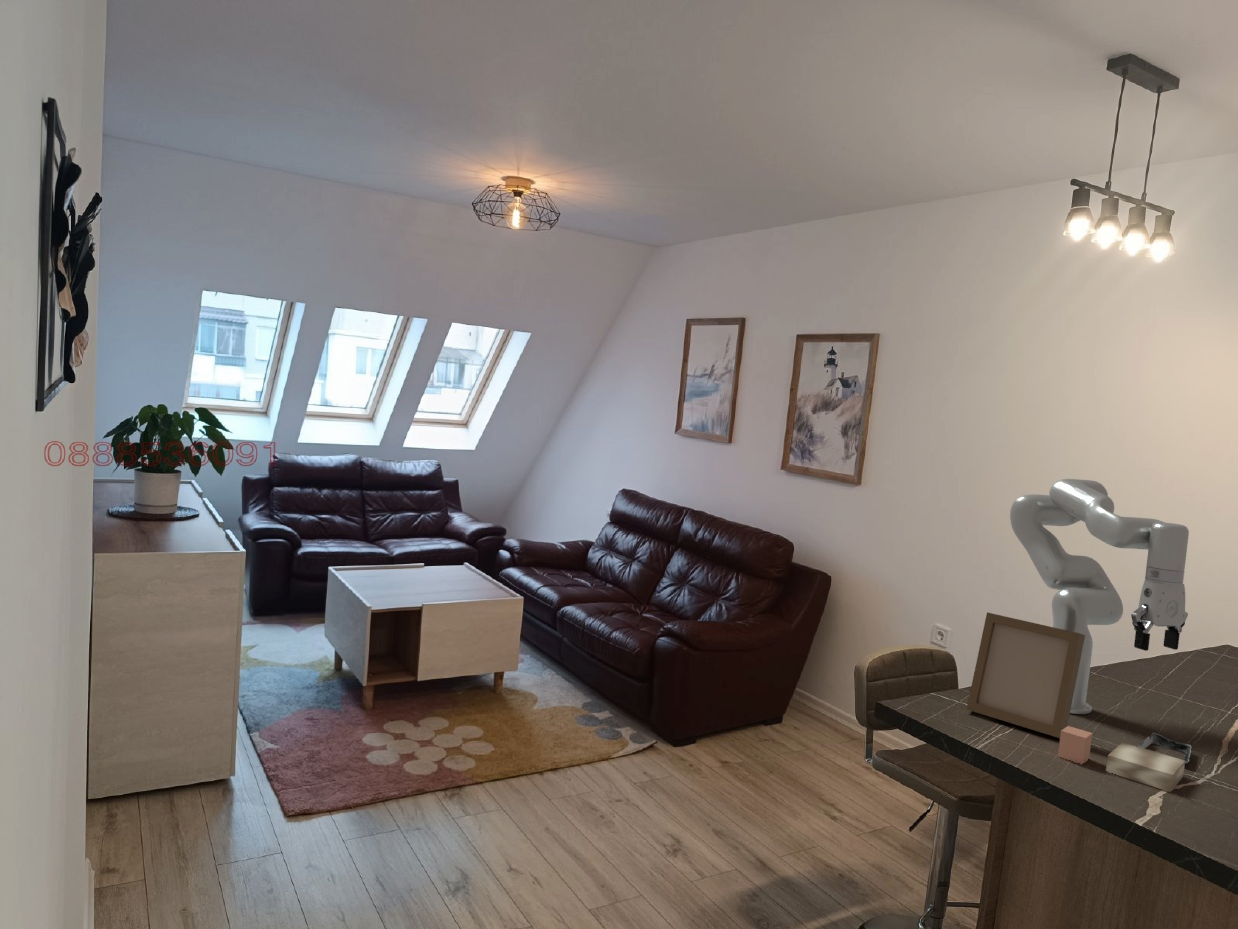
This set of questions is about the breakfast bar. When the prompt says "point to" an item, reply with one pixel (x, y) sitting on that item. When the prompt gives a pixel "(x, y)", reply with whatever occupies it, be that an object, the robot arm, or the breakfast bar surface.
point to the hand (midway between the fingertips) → (1155, 648)
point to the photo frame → (1026, 673)
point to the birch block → (1145, 766)
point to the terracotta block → (1075, 744)
